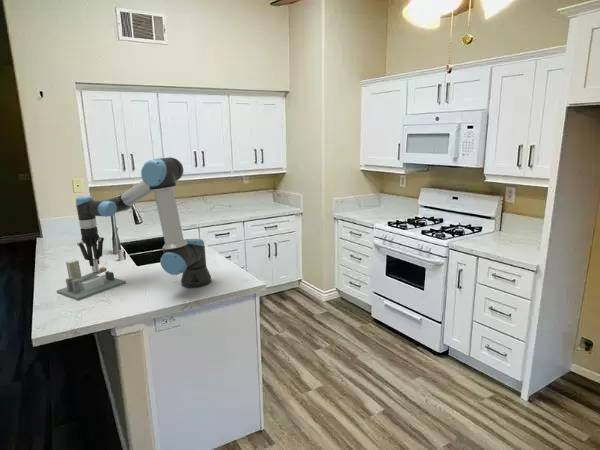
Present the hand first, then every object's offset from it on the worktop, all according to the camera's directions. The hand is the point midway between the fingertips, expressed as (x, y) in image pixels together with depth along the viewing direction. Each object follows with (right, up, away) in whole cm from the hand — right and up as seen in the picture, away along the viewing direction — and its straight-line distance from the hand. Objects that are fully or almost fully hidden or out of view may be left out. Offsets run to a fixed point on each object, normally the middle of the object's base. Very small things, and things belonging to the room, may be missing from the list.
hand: (95, 271), depth 201 cm
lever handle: (-1, -2, -2) cm, 4 cm away
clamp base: (-1, -8, -1) cm, 9 cm away
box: (-17, -6, +11) cm, 21 cm away
